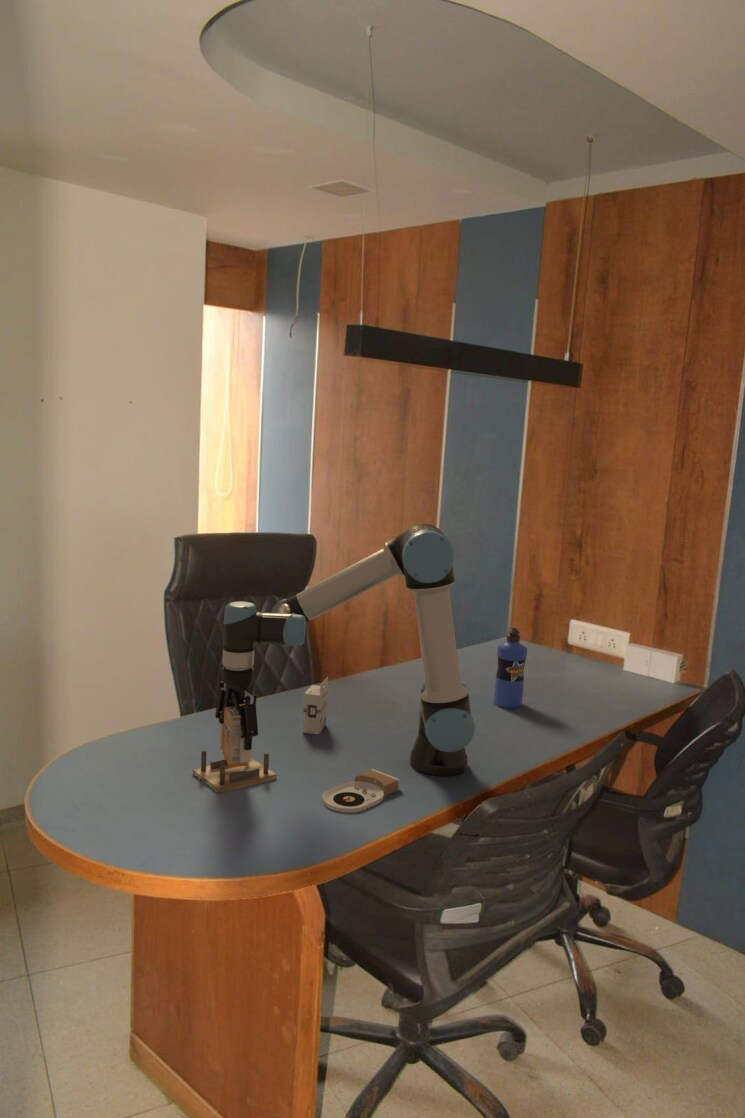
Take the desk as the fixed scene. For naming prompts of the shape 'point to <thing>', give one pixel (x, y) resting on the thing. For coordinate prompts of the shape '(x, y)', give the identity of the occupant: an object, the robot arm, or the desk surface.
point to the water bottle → (510, 672)
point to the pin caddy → (233, 773)
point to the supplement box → (232, 737)
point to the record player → (360, 792)
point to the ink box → (315, 708)
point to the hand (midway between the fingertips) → (235, 754)
